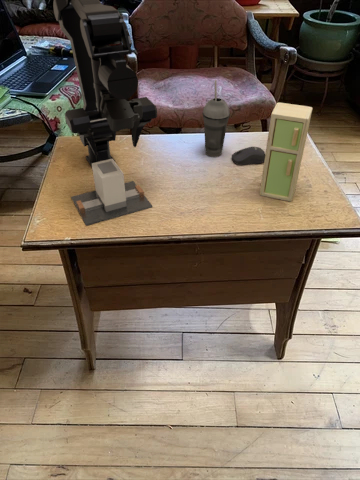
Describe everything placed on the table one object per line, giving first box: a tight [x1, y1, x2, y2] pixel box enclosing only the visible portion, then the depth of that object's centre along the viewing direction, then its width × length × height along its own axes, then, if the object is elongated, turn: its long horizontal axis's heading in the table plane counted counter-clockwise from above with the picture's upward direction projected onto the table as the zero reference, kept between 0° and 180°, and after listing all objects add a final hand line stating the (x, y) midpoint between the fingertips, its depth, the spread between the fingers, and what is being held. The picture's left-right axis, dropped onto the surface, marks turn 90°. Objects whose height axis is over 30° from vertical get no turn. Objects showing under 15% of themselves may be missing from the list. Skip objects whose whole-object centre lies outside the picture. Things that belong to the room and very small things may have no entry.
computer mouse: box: [231, 146, 266, 166], centre depth 112 cm, size 6×9×4 cm, turn 97°
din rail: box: [70, 180, 153, 227], centre depth 97 cm, size 12×16×2 cm
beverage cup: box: [202, 79, 231, 158], centre depth 109 cm, size 7×7×20 cm
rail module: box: [91, 158, 127, 212], centre depth 94 cm, size 7×5×9 cm
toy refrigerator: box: [259, 102, 313, 202], centre depth 94 cm, size 8×7×21 cm
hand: (115, 150), depth 92 cm, fingers open, 9 cm apart
